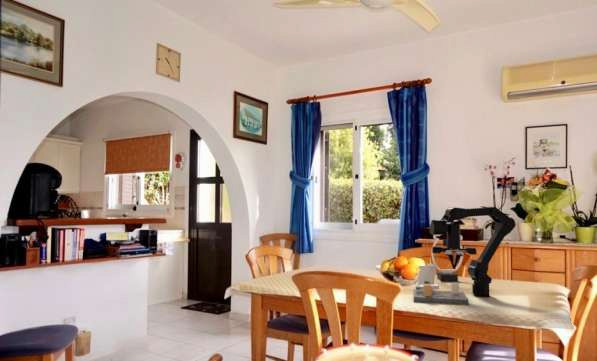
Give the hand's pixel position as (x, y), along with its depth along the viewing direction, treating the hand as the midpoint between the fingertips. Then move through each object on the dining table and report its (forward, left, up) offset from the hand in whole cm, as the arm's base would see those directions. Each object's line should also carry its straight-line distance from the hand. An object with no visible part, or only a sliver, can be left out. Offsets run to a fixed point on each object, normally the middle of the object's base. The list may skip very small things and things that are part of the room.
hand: (454, 269), depth 197 cm
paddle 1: (+12, +12, -10) cm, 20 cm away
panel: (+7, +8, -12) cm, 16 cm away
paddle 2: (0, +4, -10) cm, 11 cm away
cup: (+12, -11, -12) cm, 20 cm away
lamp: (0, -40, -12) cm, 42 cm away
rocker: (+12, +4, -8) cm, 15 cm away
